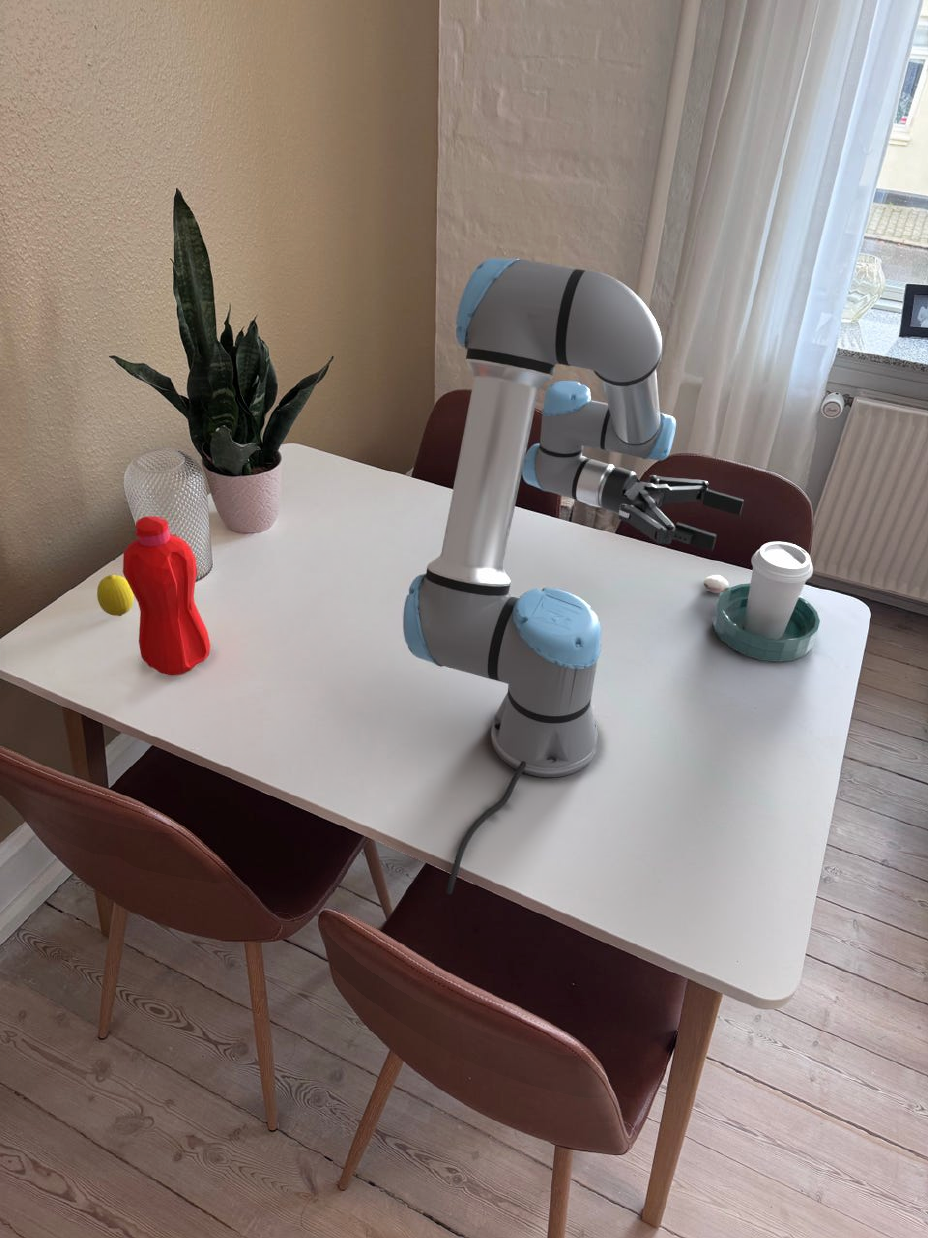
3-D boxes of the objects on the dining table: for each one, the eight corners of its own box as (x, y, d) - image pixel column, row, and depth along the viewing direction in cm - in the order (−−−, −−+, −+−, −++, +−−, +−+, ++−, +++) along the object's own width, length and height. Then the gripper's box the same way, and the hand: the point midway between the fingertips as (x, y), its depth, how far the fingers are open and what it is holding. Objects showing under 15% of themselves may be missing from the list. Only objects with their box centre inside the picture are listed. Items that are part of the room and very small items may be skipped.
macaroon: (701, 593, 165) (704, 581, 164) (704, 578, 169) (707, 566, 168) (725, 598, 164) (728, 586, 163) (728, 583, 168) (731, 571, 166)
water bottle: (228, 648, 148) (208, 513, 133) (175, 685, 140) (147, 545, 125) (187, 627, 152) (163, 493, 137) (134, 662, 144) (102, 524, 129)
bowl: (784, 677, 147) (791, 655, 145) (694, 633, 156) (699, 611, 153) (828, 632, 157) (836, 611, 155) (741, 593, 166) (747, 572, 163)
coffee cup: (799, 648, 152) (823, 573, 143) (741, 645, 152) (762, 570, 143) (784, 613, 160) (806, 540, 151) (729, 611, 160) (748, 537, 151)
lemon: (142, 607, 156) (134, 567, 151) (129, 626, 151) (120, 586, 147) (110, 604, 156) (101, 564, 151) (96, 623, 152) (86, 583, 147)
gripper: (634, 479, 169) (747, 513, 160) (573, 537, 152) (696, 579, 143) (640, 441, 165) (757, 474, 156) (579, 497, 147) (706, 538, 139)
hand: (728, 525), depth 150 cm, fingers open, 13 cm apart
